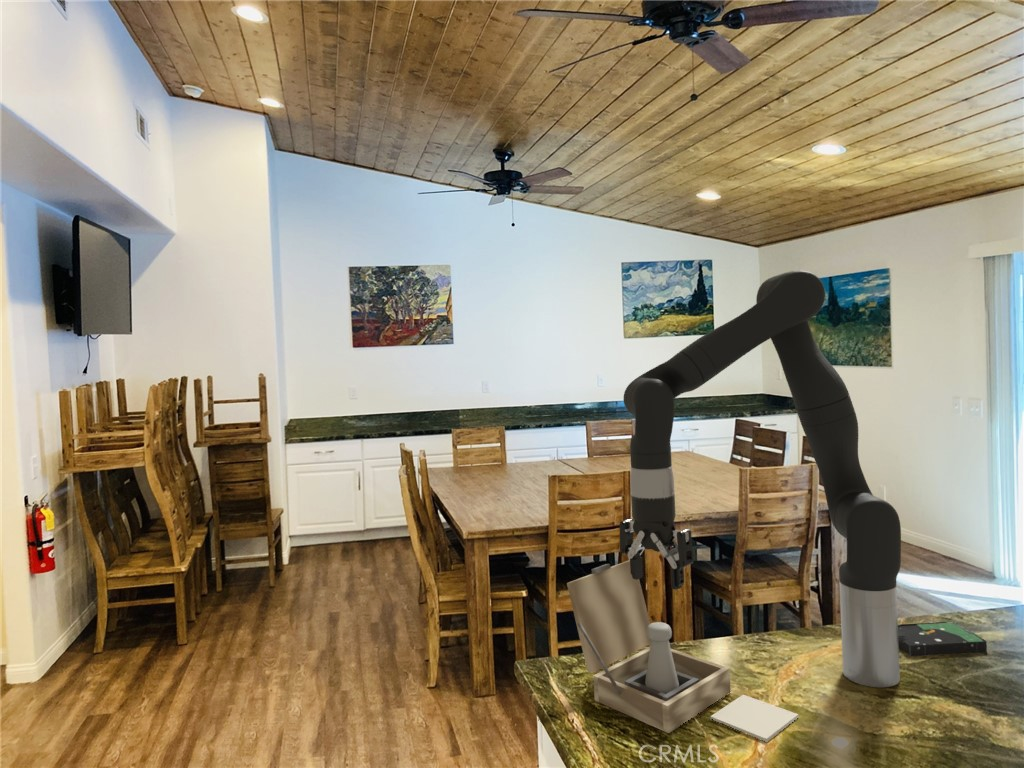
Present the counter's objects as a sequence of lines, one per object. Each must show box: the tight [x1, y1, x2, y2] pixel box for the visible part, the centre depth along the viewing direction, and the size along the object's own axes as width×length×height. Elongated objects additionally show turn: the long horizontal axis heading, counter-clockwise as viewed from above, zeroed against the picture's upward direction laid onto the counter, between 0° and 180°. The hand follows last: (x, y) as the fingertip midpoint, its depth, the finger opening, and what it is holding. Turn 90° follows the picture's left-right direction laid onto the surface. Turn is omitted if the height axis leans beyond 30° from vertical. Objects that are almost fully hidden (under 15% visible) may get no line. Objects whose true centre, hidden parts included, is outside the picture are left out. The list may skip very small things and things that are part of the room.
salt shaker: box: [645, 621, 679, 694], centre depth 125 cm, size 6×6×13 cm
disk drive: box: [898, 621, 988, 657], centre depth 141 cm, size 10×3×15 cm
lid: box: [566, 559, 651, 674], centre depth 133 cm, size 18×17×1 cm
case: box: [576, 622, 732, 734], centre depth 126 cm, size 19×18×14 cm
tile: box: [710, 694, 799, 743], centre depth 117 cm, size 10×10×1 cm
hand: (656, 583), depth 125 cm, fingers open, 8 cm apart
